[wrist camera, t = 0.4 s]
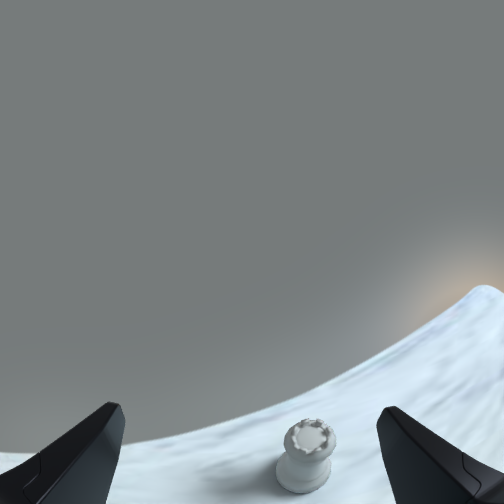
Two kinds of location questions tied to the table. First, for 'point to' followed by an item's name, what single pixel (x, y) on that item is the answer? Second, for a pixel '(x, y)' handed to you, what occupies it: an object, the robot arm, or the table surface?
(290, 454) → the rook chess piece
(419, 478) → the robot arm
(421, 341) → the table surface
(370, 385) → the table surface
